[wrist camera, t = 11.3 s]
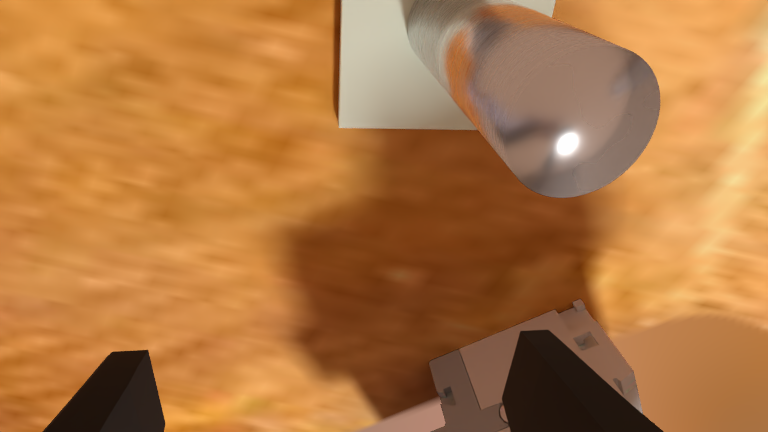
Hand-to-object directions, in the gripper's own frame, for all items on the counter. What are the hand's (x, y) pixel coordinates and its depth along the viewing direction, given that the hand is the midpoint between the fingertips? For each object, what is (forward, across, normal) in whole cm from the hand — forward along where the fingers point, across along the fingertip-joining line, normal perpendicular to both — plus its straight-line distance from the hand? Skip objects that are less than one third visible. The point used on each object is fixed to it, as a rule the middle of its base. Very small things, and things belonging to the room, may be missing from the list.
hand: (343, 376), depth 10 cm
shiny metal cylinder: (+10, -4, -5) cm, 12 cm away
